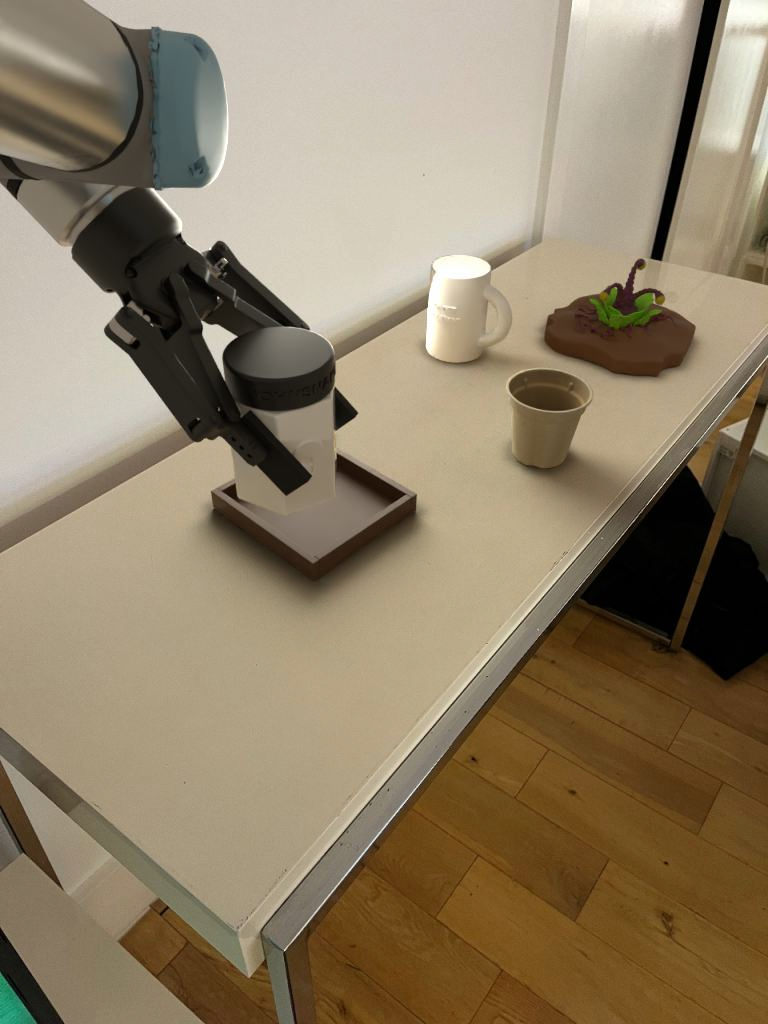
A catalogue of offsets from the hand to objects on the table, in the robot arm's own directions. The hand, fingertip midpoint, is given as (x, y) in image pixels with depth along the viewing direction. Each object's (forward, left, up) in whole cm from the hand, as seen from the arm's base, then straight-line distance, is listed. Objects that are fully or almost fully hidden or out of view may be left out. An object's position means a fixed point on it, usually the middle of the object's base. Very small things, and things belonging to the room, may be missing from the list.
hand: (323, 452), depth 61 cm
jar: (-1, +3, -4) cm, 5 cm away
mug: (+46, +21, -17) cm, 53 cm away
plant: (+65, +8, -17) cm, 68 cm away
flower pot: (+33, 0, -17) cm, 37 cm away
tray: (+8, +11, -17) cm, 22 cm away
